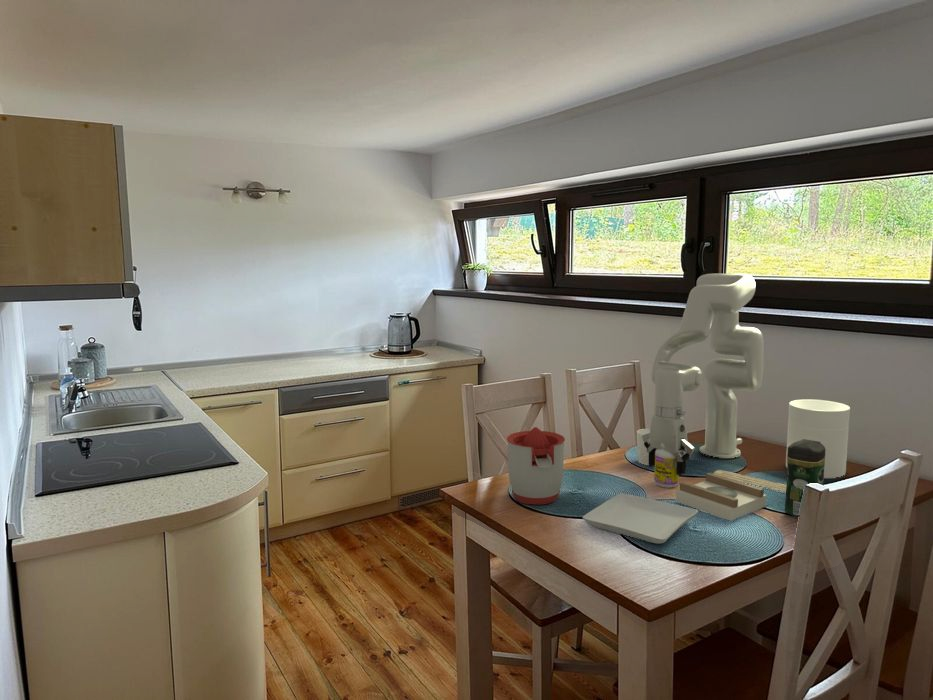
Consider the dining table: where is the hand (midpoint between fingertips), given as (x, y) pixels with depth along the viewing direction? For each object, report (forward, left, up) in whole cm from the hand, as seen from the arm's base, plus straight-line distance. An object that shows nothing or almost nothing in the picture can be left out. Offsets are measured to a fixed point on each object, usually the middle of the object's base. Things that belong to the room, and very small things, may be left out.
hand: (666, 469), depth 182 cm
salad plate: (+28, +14, -5) cm, 32 cm away
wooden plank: (-22, +15, -5) cm, 27 cm away
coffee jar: (-10, +34, -5) cm, 36 cm away
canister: (-46, +19, -5) cm, 50 cm away
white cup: (-12, -16, -5) cm, 21 cm away
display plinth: (+1, +18, -4) cm, 19 cm away
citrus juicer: (+37, -14, -5) cm, 40 cm away
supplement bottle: (0, 0, -5) cm, 5 cm away
